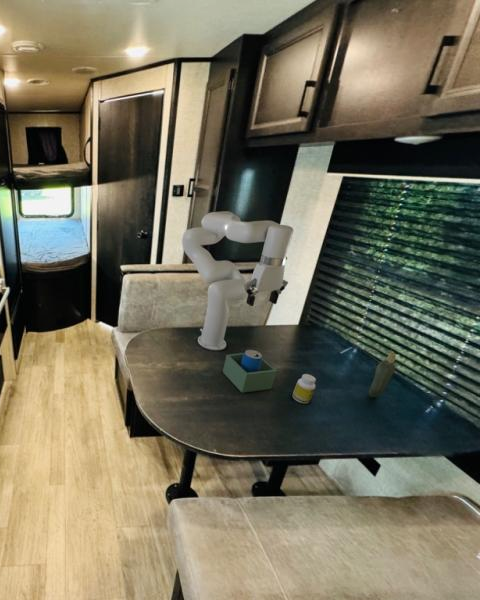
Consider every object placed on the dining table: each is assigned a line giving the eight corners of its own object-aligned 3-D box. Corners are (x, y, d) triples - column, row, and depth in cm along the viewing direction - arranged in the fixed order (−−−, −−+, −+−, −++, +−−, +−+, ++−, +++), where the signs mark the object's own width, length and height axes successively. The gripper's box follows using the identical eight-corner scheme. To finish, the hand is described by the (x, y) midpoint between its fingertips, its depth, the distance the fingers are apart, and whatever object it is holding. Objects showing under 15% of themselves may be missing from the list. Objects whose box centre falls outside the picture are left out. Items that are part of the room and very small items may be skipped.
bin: (222, 372, 129) (226, 354, 126) (249, 368, 131) (254, 351, 127) (241, 392, 118) (246, 374, 114) (271, 388, 120) (277, 370, 116)
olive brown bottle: (380, 403, 113) (404, 357, 104) (365, 399, 114) (388, 354, 106) (376, 395, 116) (399, 350, 108) (361, 392, 118) (383, 347, 109)
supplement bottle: (309, 406, 111) (317, 384, 107) (291, 399, 114) (299, 378, 110) (310, 397, 115) (318, 376, 111) (292, 391, 118) (300, 370, 114)
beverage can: (253, 386, 120) (261, 361, 115) (235, 380, 124) (242, 354, 119) (257, 377, 125) (264, 352, 120) (239, 371, 128) (246, 347, 123)
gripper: (285, 256, 116) (274, 297, 123) (243, 258, 113) (234, 301, 121) (302, 262, 109) (288, 306, 117) (257, 265, 107) (246, 309, 114)
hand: (261, 303), depth 119 cm, fingers open, 9 cm apart
